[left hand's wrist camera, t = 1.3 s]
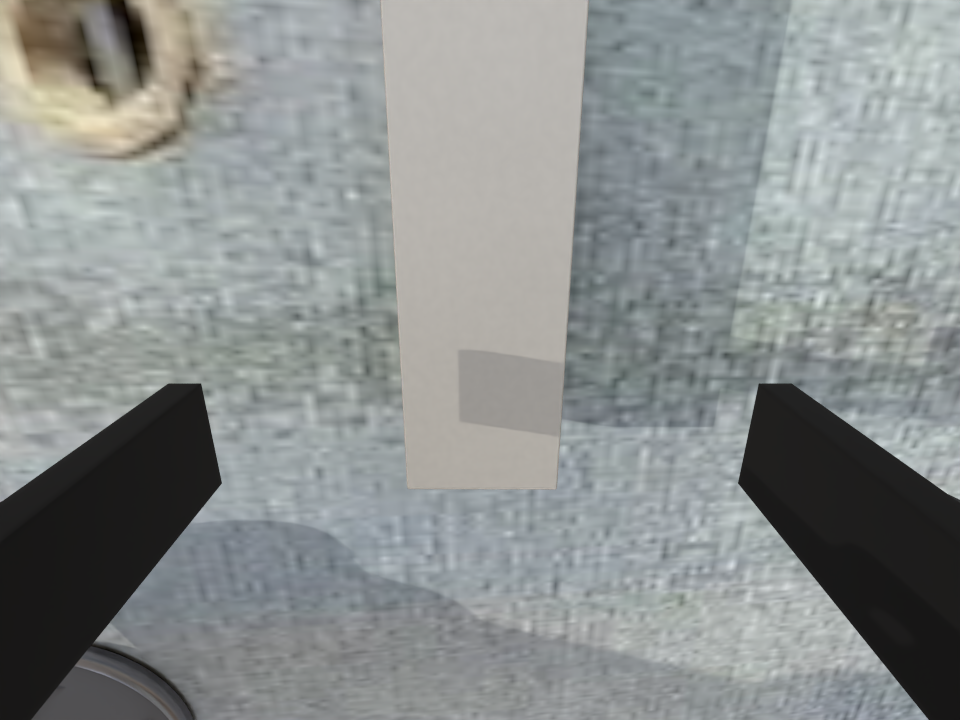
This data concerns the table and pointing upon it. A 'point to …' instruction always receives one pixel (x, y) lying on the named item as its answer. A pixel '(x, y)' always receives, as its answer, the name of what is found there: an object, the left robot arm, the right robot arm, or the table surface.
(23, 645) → the left robot arm
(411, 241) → the post
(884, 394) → the table surface
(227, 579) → the table surface
